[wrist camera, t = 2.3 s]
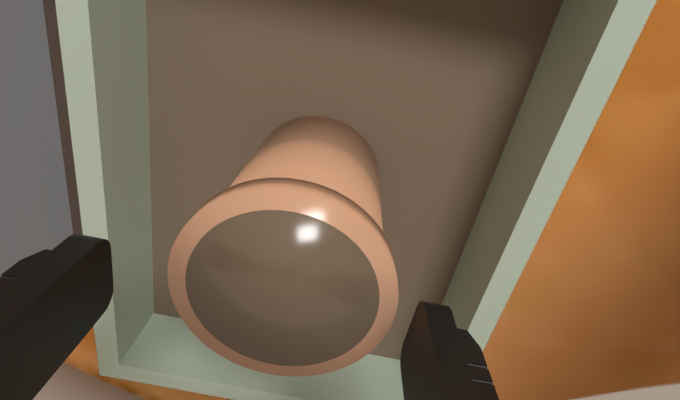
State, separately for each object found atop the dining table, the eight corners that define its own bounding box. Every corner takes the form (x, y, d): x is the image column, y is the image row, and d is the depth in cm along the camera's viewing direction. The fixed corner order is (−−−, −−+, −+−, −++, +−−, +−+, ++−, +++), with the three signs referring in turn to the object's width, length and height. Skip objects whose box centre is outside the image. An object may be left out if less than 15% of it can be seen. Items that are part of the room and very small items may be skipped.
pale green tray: (607, -67, 14) (702, -93, 10) (427, 364, 24) (439, 437, 20) (126, -175, 14) (25, -249, 10) (145, 310, 23) (99, 374, 19)
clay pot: (401, 125, 17) (428, 220, 9) (368, 248, 19) (369, 394, 12) (254, 94, 16) (165, 167, 9) (242, 223, 19) (166, 356, 12)
